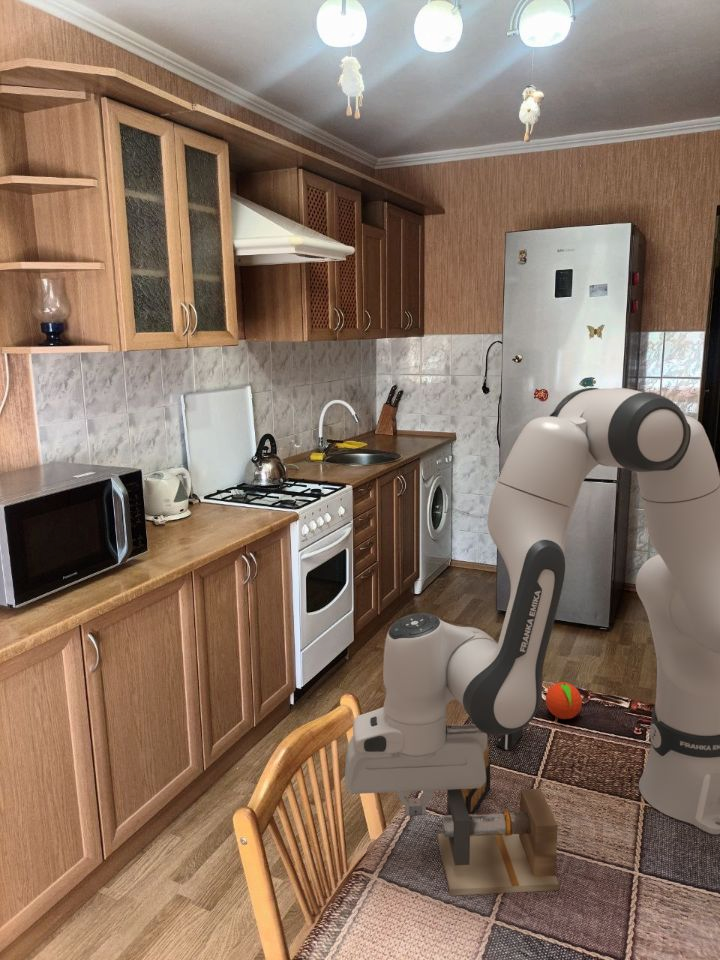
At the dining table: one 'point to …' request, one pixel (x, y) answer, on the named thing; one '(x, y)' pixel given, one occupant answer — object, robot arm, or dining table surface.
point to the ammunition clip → (477, 795)
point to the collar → (459, 827)
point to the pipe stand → (508, 856)
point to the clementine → (563, 700)
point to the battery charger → (509, 740)
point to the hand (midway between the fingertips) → (415, 813)
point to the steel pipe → (492, 824)
